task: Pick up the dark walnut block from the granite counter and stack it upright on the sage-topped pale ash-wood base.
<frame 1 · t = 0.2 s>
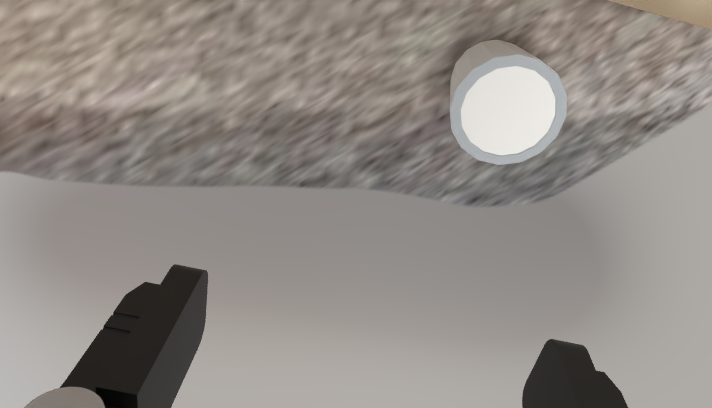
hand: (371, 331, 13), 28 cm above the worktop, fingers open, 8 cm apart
white cup: (490, 79, 38), on the worktop
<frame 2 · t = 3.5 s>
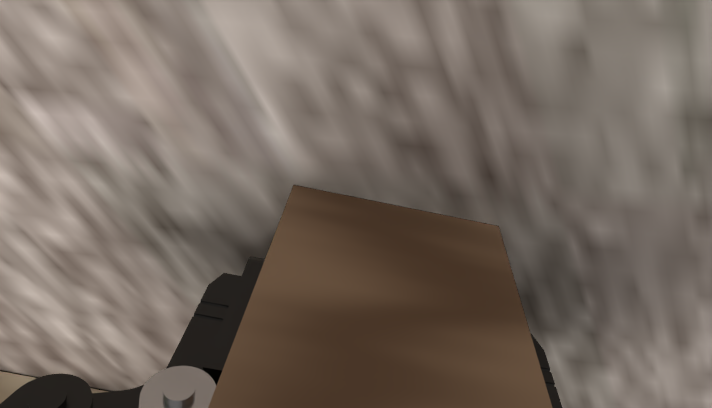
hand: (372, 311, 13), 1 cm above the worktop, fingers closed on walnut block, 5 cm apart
walnut block: (375, 286, 14), on the worktop, touching gripper
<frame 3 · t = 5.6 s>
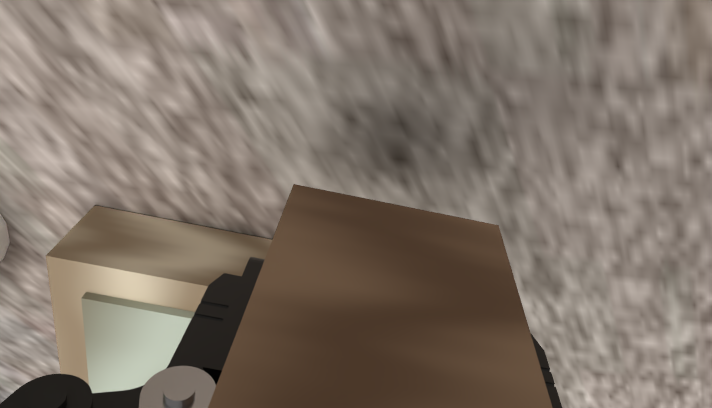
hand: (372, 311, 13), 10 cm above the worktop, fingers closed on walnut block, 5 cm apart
walnut block: (375, 285, 14), point 9 cm above the worktop, touching gripper
plinth: (234, 342, 28), on the worktop
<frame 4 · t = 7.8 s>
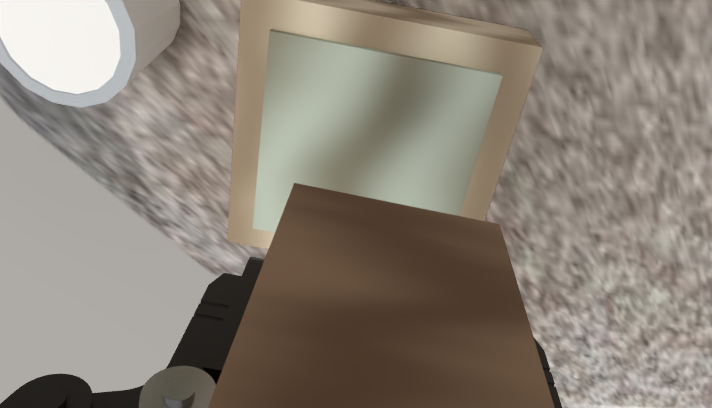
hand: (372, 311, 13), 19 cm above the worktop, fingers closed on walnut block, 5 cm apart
walnut block: (376, 284, 14), point 18 cm above the worktop, touching gripper
plinth: (370, 128, 31), on the worktop
white cup: (131, 4, 29), on the worktop
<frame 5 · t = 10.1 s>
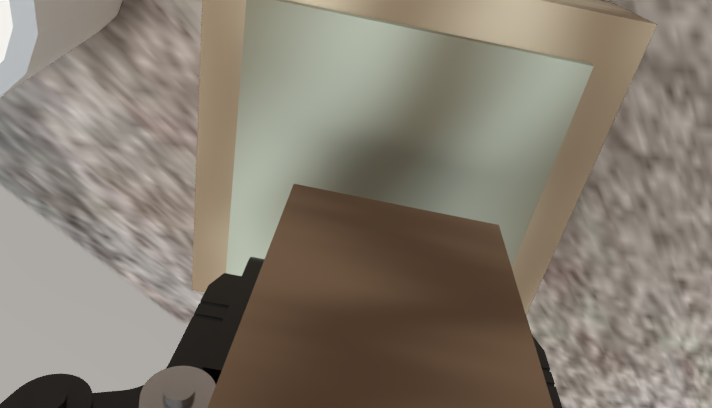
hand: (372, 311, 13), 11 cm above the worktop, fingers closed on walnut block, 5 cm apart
walnut block: (375, 285, 14), point 10 cm above the worktop, touching gripper
plinth: (388, 137, 23), on the worktop
when the fingers open (6 cm above the worktop, at t = 12.2 s): walnut block stays where it is, resting on plinth.
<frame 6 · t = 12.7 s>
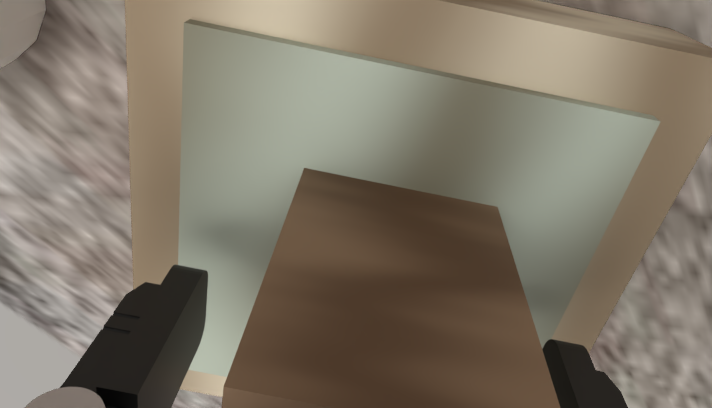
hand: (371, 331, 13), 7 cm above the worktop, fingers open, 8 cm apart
walnut block: (380, 265, 15), point 4 cm above the worktop, touching plinth
plinth: (381, 191, 19), on the worktop
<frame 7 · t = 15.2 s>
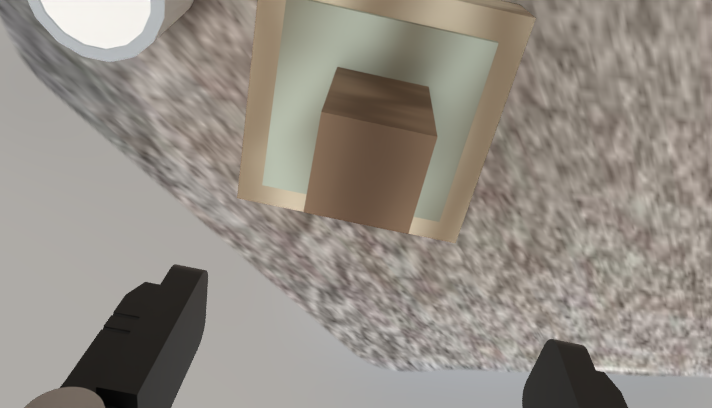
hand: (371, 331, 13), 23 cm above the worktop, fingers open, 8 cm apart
walnut block: (373, 120, 30), point 4 cm above the worktop, touching plinth
plinth: (373, 95, 34), on the worktop
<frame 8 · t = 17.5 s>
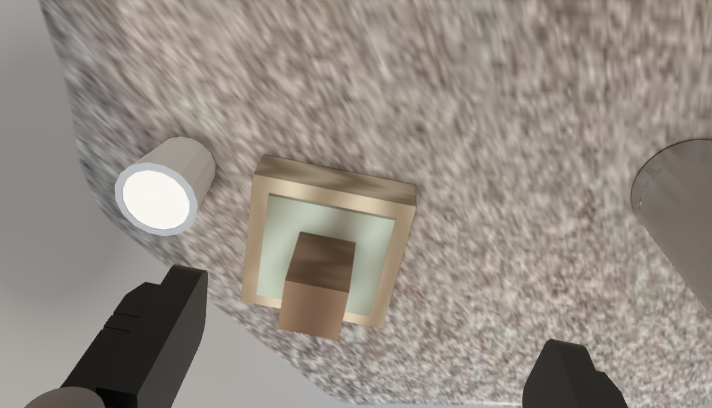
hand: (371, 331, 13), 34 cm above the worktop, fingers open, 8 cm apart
walnut block: (323, 259, 48), point 4 cm above the worktop, touching plinth
plinth: (328, 233, 52), on the worktop
white cup: (186, 163, 50), on the worktop
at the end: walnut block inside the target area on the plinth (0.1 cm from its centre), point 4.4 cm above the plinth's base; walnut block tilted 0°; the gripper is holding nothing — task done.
